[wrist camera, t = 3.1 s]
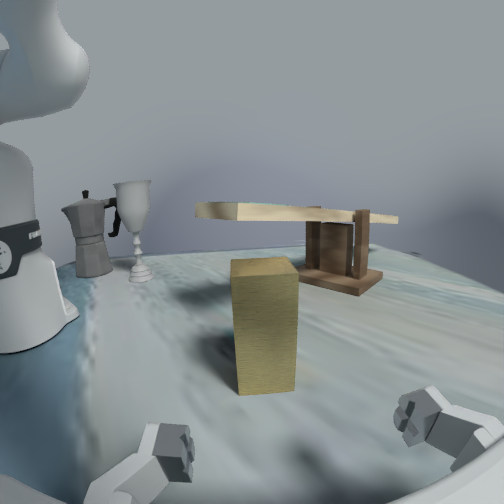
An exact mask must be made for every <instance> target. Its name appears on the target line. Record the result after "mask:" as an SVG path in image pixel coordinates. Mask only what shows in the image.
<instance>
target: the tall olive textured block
mask: <svg viewBox="0 0 504 504" xmlns="http://www.w3.org/2000/svg"><path fill="white" fill-rule="evenodd" d="M230 278H231V295H232V310H233V325H234V339H235V352H236V365H237V377H238V389H239V396H240V395H257V394H269V393H279V392H289V391H294V386H295V369H296V350H297V326H298V289H299V273H298V271H297V270H296V269H295V267H294V266H293V265H292V263H291V262H290V261H289V260H288V258H287V257H272V258H252V259H232V260H231V272H230Z"/></svg>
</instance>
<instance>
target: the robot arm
mask: <svg viewBox="0 0 504 504" xmlns="http://www.w3.org/2000/svg"><path fill="white" fill-rule="evenodd" d="M57 2H58V0H0V33H1V34H2V35H3V36H4V37H5V38H6V40H7V41H8V44H9V47H10V49H6V50H1V51H0V125H1V124H3V123H7V122H12V121H18V120H24V119H29V118H37V117H43V116H46V115H49V114H53V113H56V112H59V111H62V110H65V109H68V108H71V107H72V106H73V105H74V104H75V103H76V102H77V101H78V99H79V98H80V97H81V95H82V93H83V92H84V90H85V88H86V85H87V82H88V79H89V71H90V69H89V68H90V66H89V60H88V57H87V54H86V52H85V51H84V50H83V48H82V47H81V46H80V45H78V44H77V43H76V42H74V41H73V40H72V39H71V38H70V37H69V35H68V34H67V33H66V31H65V30H64V28H63V26H62V24H61V22H60V19H59V15H58V8H57ZM34 206H35V205H34V188H33V167H32V164H31V161H30V159H29V157H28V156H27V155H26V154H25V153H24V152H23V151H21V150H19V149H17V148H15V147H13V146H11V145H8V144H5V143H2V142H0V353H12V352H18V351H22V350H26V349H29V348H32V347H34V346H37V345H39V344H41V343H43V342H45V341H47V340H48V339H50V338H51V337H53V336H54V335H56V334H57V333H58V332H59V331H60V330H61V329H62V328H63V327H64V325H65V324H67V323H68V322H70V321H71V320H73V319H75V318H76V317H78V316H79V312H78V309H77V307H75V306H74V305H73V304H72V303H71V302H70V301H68V300H67V299H66V298H65V297H64V296H63V295H62V293H61V287H60V285H59V281H58V277H57V272H56V267H55V263H54V261H52V260H51V259H50V258H49V257H48V256H46V255H45V254H44V253H43V251H42V250H41V248H40V247H41V245H42V241H41V230H40V227H39V221H38V220H37V219H36V217H35V207H34ZM398 403H399V407H398V408H397V409H396V410H395V412H394V416H393V418H394V424H395V427H396V428H397V430H399V431H401V432H403V435H402V438H403V439H404V441H405V442H406V444H407V446H408V447H411V446H413V445H416V444H419V443H421V442H424V441H425V442H426V443H428V444H430V445H432V446H434V447H435V448H437V449H439V450H441V451H443V452H445V453H447V454H449V455H451V456H453V457H455V458H456V460H455V461H454V462H453V464H452V465H451V467H450V469H451V471H452V473H450V474H449V475H447V476H445V477H443V478H441V479H440V480H438V481H436V482H434V483H432V484H430V485H428V486H426V487H424V488H422V489H420V490H417V491H415V492H413V493H411V494H409V495H406V496H404V497H402V498H399V499H397V500H394V501H392V502H389V503H387V504H504V426H503V425H502V424H501V423H500V422H499V421H498V420H497V419H496V418H495V417H493V416H489V415H486V414H482V413H479V412H476V411H472V410H469V409H466V408H463V407H460V406H456V405H453V406H452V405H451V404H450V403H449V402H448V401H447V400H446V399H445V398H444V397H443V396H442V395H441V394H440V392H439V391H438V390H437V389H436V388H435V387H434V386H432V385H430V386H427V387H425V388H422V389H419V390H416V391H413V392H410V393H407V394H404V395H402V396H401V397H400V398H399V401H398ZM194 456H195V450H194V442H193V439H192V438H191V437H190V429H189V426H188V425H176V424H163V423H151V422H148V423H147V424H146V426H145V429H144V432H143V435H142V439H141V442H140V445H139V448H138V452H137V453H133V454H131V455H130V456H129V457H127V458H126V459H124V460H123V461H122V462H120V463H119V464H118V465H116V466H115V467H113V468H112V469H110V470H109V471H108V472H106V473H105V474H103V475H102V476H100V477H99V478H97V479H96V480H94V481H93V482H91V483H90V486H89V489H88V491H87V494H86V497H85V500H84V502H83V504H150V503H151V502H152V501H153V500H154V498H155V497H156V496H157V495H158V494H159V493H160V492H161V491H162V490H163V489H164V488H165V487H166V486H167V485H168V484H169V482H186V483H192V477H193V467H192V465H191V463H192V462H193V461H194ZM0 504H68V503H65V502H63V501H60V500H58V499H55V498H53V497H51V496H48V495H46V494H44V493H42V492H40V491H37V490H35V489H33V488H31V487H29V486H27V485H25V484H24V483H22V482H20V481H18V480H16V479H15V478H13V477H11V476H9V475H6V474H1V475H0Z"/></svg>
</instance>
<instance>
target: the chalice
mask: <svg viewBox="0 0 504 504" xmlns="http://www.w3.org/2000/svg"><path fill="white" fill-rule="evenodd" d="M150 183H151V180H144V181H131V182H123V183H116V184H113V185H114V187H115V189H116V198H117V211H118V213H119V216H120V218H121V220H122V222H123V224H124V225H125V227H126V229H127V230H128V232H131V233H133V236H134V242H133V245H134V247H135V252H134V255H135V257H136V264H135V266H133V267H132V269H131V273H130V278H129V281H131V282H144V281H148V280H151V279H153V278H154V275H153V274H152V273H151V272H152V271H151V270H150V269H149V267H148V266H147V265H144V264H143V263H142V260H141V254H142V252H141V250H140V244H141V242H140V240H139V232H140V231H142V230H143V228H144V225H145V223H146V220H147V217H148V213H149V209H150V198H149V185H150Z"/></svg>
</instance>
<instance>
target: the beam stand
mask: <svg viewBox="0 0 504 504" xmlns="http://www.w3.org/2000/svg"><path fill="white" fill-rule="evenodd" d="M309 208H320V209H321V206H311V207H309ZM369 223H370V210H367V209H361V210H356V211H355V246H354V266H352V252H353V224H343V223H333V222H325V223H321V221H306V264H304V265H302V266H299V267H296V268H295V269H296V270H297V271H298V273H299V281H300V282H303V283H307V284H311V285H315V286H319V287H323V288H327V289H331V290H335V291H339V292H343V293H347V294H352V295H356V296H360V295H361V294H362V293H364V292H365V291H367V290H368V289H369V288H370V287H372V286H373V285H374V284H376V283H377V282H378V281H380V280H381V279H382V276H383V272H381V271H375V270H370V269H367V264H368V248H369Z"/></svg>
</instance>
